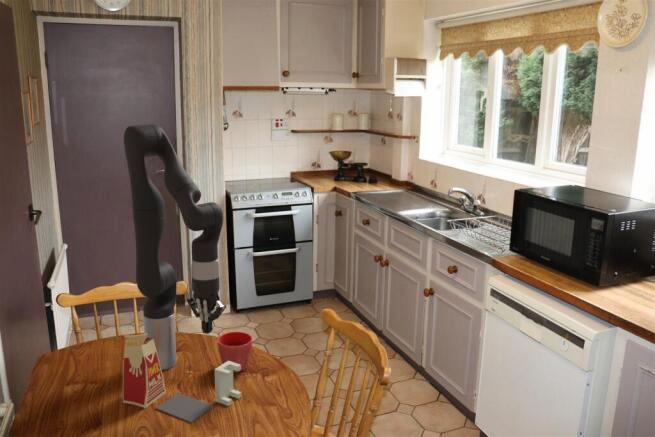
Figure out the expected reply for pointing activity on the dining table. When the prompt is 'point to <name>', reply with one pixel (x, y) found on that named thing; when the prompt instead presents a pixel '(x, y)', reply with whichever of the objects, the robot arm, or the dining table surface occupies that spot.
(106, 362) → the dining table surface
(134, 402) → the milk carton
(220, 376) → the stool
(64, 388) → the dining table surface
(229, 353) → the flower pot
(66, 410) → the dining table surface
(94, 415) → the dining table surface
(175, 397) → the mat
